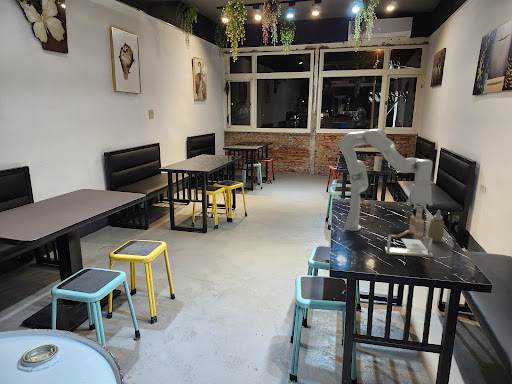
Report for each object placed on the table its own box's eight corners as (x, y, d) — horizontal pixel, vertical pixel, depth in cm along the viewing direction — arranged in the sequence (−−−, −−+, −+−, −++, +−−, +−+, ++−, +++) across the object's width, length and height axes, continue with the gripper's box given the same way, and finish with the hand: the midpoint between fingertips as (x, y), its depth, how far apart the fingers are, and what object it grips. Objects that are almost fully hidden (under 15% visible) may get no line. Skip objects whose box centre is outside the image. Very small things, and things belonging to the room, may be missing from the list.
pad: (401, 239, 189) (401, 238, 189) (419, 240, 187) (419, 239, 187) (407, 249, 176) (407, 248, 175) (427, 250, 174) (427, 249, 174)
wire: (384, 249, 176) (387, 225, 172) (428, 252, 172) (432, 228, 169) (387, 253, 170) (389, 229, 167) (432, 257, 166) (436, 232, 163)
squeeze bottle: (434, 243, 184) (438, 212, 179) (423, 238, 191) (427, 208, 187) (445, 241, 186) (450, 211, 181) (434, 236, 193) (439, 207, 189)
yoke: (408, 231, 186) (412, 203, 182) (416, 232, 185) (419, 204, 181) (414, 239, 175) (418, 209, 171) (422, 239, 174) (426, 210, 170)
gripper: (436, 182, 175) (431, 214, 179) (403, 180, 178) (400, 213, 182) (441, 185, 168) (436, 218, 172) (407, 183, 171) (403, 217, 175)
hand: (417, 215), depth 177 cm, fingers closed on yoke, 3 cm apart
